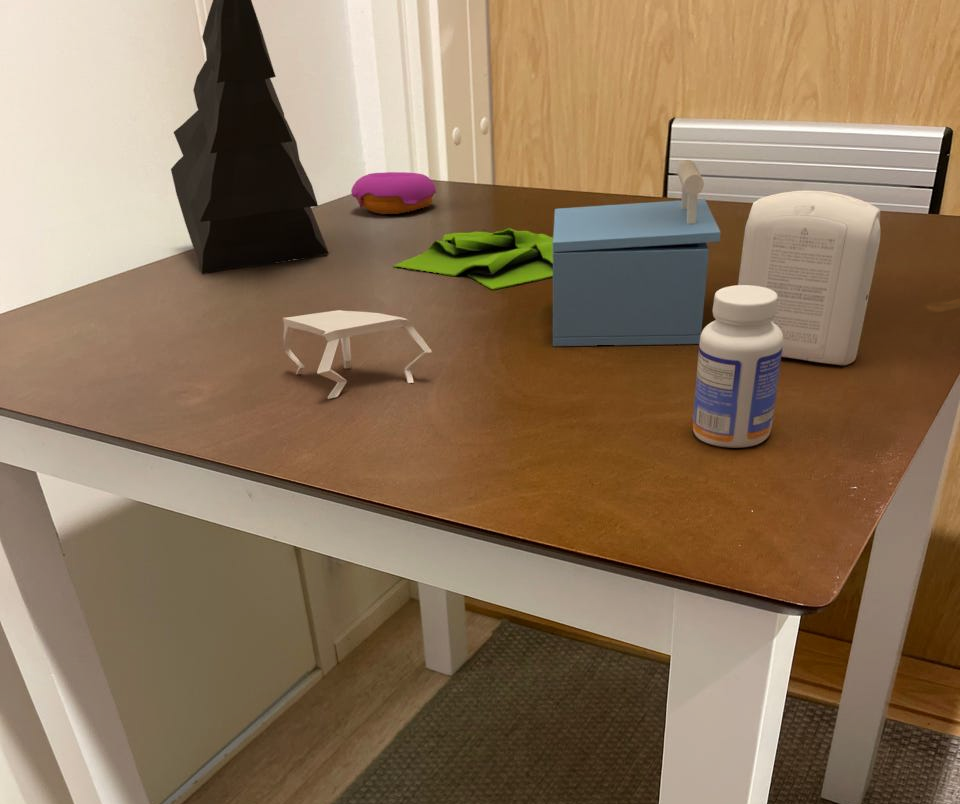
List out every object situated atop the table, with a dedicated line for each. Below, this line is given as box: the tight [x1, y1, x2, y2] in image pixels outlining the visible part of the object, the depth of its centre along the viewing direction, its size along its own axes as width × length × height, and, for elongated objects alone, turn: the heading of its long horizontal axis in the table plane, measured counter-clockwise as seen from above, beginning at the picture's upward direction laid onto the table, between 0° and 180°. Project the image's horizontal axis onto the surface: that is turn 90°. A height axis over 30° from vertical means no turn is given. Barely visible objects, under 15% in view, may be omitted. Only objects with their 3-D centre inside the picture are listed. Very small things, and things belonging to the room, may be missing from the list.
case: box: [552, 243, 710, 347], centre depth 86 cm, size 13×12×8 cm
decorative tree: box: [170, 0, 330, 275], centre depth 99 cm, size 15×15×35 cm
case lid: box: [552, 159, 722, 252], centre depth 82 cm, size 13×12×5 cm
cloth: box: [392, 227, 553, 291], centre depth 106 cm, size 20×22×2 cm
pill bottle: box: [692, 284, 783, 449], centre depth 65 cm, size 5×5×10 cm
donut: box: [350, 171, 437, 215], centre depth 127 cm, size 10×10×5 cm
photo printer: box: [737, 190, 882, 367], centre depth 76 cm, size 10×4×12 cm, turn 60°
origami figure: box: [282, 309, 433, 400], centre depth 78 cm, size 12×8×5 cm
